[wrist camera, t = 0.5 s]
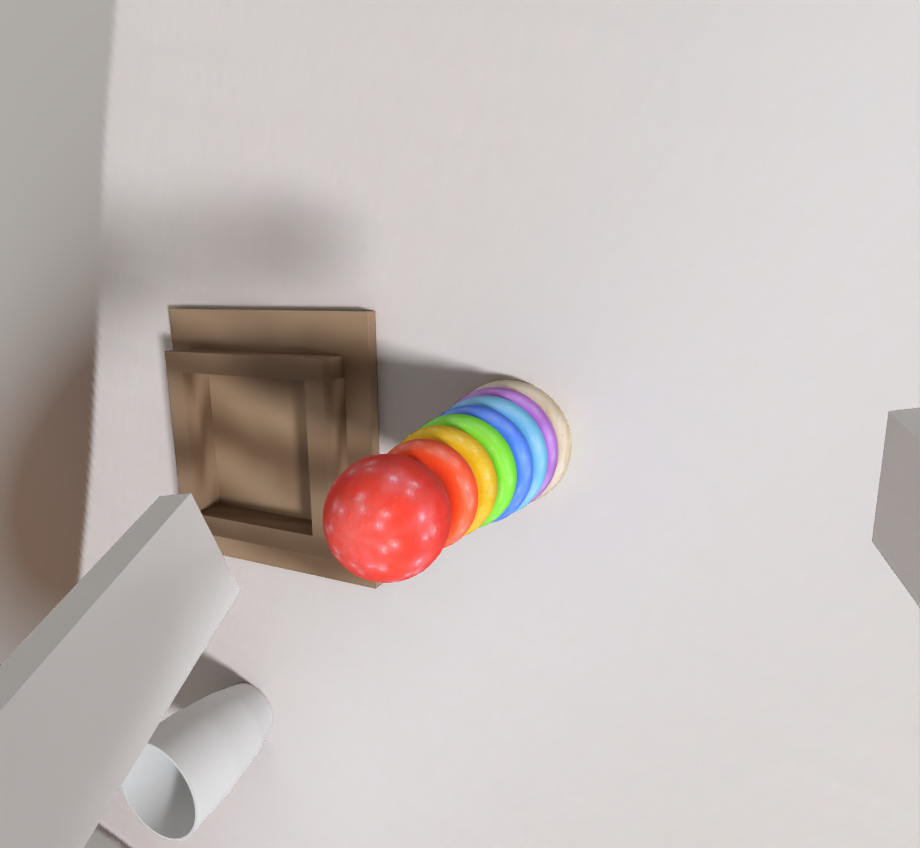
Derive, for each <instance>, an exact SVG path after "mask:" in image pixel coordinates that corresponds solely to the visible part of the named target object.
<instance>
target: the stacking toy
mask: <svg viewBox="0 0 920 848" xmlns="http://www.w3.org/2000/svg"><path fill="white" fill-rule="evenodd" d="M571 449H572V444H571V433H570V429H569V426H568V423H567V420H566V418H565V416H564V414H563V412H562V411H561V409H560V408H559V406H558V405H557V404H556V403H555V402H554V400H553V399H552V398H551V397H550V396H548V395H547V394H546V393H545V392H543V391H542V390H540V389H538V388H537V387H535V386H532V385H530V384H527V383H524V382H520V381H515V380H499V381H494V382H490V383H487V384H484V385H482V386H480V387H478V388H476V389H475V390H473V391H472V392H471V393H469V394H467V395H465V396H464V397H462V398H461V399H460V400H458V401H457V402H456V403H455V404H454V405H453V406H452V407H451V408H450V409H448V410H447V411H446V412H444V413H442V414H441V415H439V416H438V417H437V418H435V419H433V420H431V421H429V422H428V423H426V424H425V425H424V426H422V427H421V428H420V429H419V430H417V431H415V432H413V433H412V434H410V435H409V436H408V437H406V438H405V439H404V440H403V441H402V442H401V444H399V445H398V446H396V447H394V448H393V449H392V450H391V451H389V452H388V453H387V454H379V455H372V456H369V457H366V458H364V459H361V460H359V461H357V462H355V463H354V464H352V465H351V466H349V467H348V468H347V469H346V470H345V471H344V472H343V473H342V474H340V475H339V477H338V478H337V479H336V480H335V481H334V483H333V484H332V486H331V488H330V490H329V492H328V494H327V497H326V500H325V503H324V508H323V531H324V535H325V538H326V542H327V544H328V546H329V548H330V550H331V552H332V554H333V555H334V557H335V558H336V559H337V560H338V561H339V562H340V564H341V565H342V566H343V567H344V568H346V569H347V570H348V571H350V572H351V573H353V574H354V575H356V576H358V577H360V578H363V579H365V580H369V581H373V582H381V583H391V582H398V581H402V580H406V579H409V578H411V577H413V576H415V575H417V574H419V573H420V572H422V571H424V570H425V569H426V568H427V567H428V566H430V565H431V563H432V562H433V561H434V560H435V559H436V558H437V557H438V555H439V554H440V553H441V551H442V549H443V548H445V547H447V546H449V545H451V544H453V543H455V542H456V541H458V540H459V539H461V538H462V536H464V535H467V534H469V533H471V532H472V531H474V530H476V529H477V528H479V527H482V526H485V525H487V524H489V523H492V522H496V521H499V520H501V519H504V518H506V517H507V516H509V515H510V514H512V513H514V512H516V511H518V510H520V509H522V508H523V507H525V506H526V505H527V504H529V503H530V502H532V501H535V500H537V499H539V498H541V497H543V496H544V495H546V494H547V493H549V492H550V491H551V490H552V489H553V488H554V487H555V486H556V485H557V484H558V483H559V482H560V480H561V479H562V477H563V475H564V474H565V472H566V470H567V467H568V464H569V461H570V456H571Z"/></svg>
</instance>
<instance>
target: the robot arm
mask: <svg viewBox="0 0 920 848" xmlns="http://www.w3.org/2000/svg"><path fill="white" fill-rule="evenodd" d="M872 542H873V544H874V545H875V546H876V548H877V549H878V550H879V552H880V553H881V555H882V556H883V557H884V559H885V560H886V562H887V563H888V564H889V566H890V567H891V569H892V570H893V571H894V573H895V574H896V575H897V577H898V578H899V580H900V581H901V582H902V584H903V585H904V587H905V588H906V589H907V591H908V592H909V594H910V595H911V596H912V598H913V599H914V600H915V602H916V603H917V605H918V606H919V607H920V408H912V409H904V410H895V411H889V412H888V420H887V428H886V435H885V443H884V451H883V459H882V466H881V474H880V482H879V489H878V497H877V505H876V513H875V520H874V528H873V536H872ZM239 591H240V588H239V586H238V584H237V582H236V580H235V578H234V576H233V575H232V573H231V571H230V569H229V567H228V565H227V563H226V561H225V559H224V557H223V555H222V553H221V551H220V549H219V547H218V545H217V543H216V541H215V539H214V537H213V535H212V533H211V531H210V529H209V527H208V525H207V523H206V521H205V519H204V517H203V515H202V514H201V512H200V510H199V508H198V506H197V504H196V502H195V500H194V498H193V496H192V494H191V493H186V494H177V495H169V496H160V497H159V498H158V499H157V500H156V501H155V502H154V503H153V504H152V505H151V506H150V507H149V508H148V509H147V510H146V511H145V512H144V514H143V515H142V516H141V517H140V518H139V519H138V520H137V521H136V522H135V523H134V524H133V525H132V526H131V527H130V528H129V529H128V530H127V532H126V533H125V534H124V535H123V536H122V537H121V538H120V539H119V540H118V541H117V542H116V543H115V544H114V545H113V546H112V547H111V548H110V550H109V551H108V552H107V553H106V554H105V555H104V556H103V557H102V558H101V559H100V560H99V561H98V562H97V563H96V564H95V565H94V566H93V568H92V569H91V570H90V571H89V572H88V573H87V574H86V575H85V576H84V577H83V578H82V579H81V580H80V581H79V582H78V583H77V585H76V586H75V587H74V588H73V589H72V590H71V591H70V592H69V593H68V594H67V595H66V596H65V597H64V598H63V599H62V601H61V602H60V603H59V604H58V605H57V606H56V607H55V608H54V609H53V610H52V611H51V612H50V613H49V614H48V615H47V616H46V617H45V618H44V619H43V621H42V622H41V623H40V624H39V625H38V626H37V627H36V628H35V629H34V630H33V631H32V632H31V633H30V635H28V637H26V639H25V640H24V641H23V642H22V643H21V644H20V645H19V646H18V647H17V648H16V649H15V650H14V651H13V652H12V653H11V654H10V656H9V657H8V658H7V659H6V660H5V661H4V662H3V663H2V664H1V665H0V848H84V846H85V845H86V843H87V841H88V840H89V838H90V837H91V835H92V833H93V832H94V830H95V828H96V827H97V825H98V823H99V822H100V820H101V818H102V817H103V815H104V813H105V812H106V810H107V809H108V807H109V805H110V804H111V802H112V800H113V799H114V797H115V795H116V794H117V792H118V790H119V789H120V787H121V785H122V784H123V782H124V781H125V779H126V777H127V776H128V774H129V772H130V771H131V769H132V767H133V766H134V764H135V762H136V761H137V759H138V758H139V756H140V754H141V753H142V751H143V749H144V748H145V746H146V744H147V743H148V741H149V739H150V738H151V736H152V734H153V733H154V731H155V730H156V728H157V726H158V725H159V723H160V721H161V720H162V718H163V716H164V715H165V713H166V711H167V710H168V708H169V706H170V705H171V703H172V702H173V700H174V698H175V697H176V695H177V693H178V692H179V690H180V688H181V687H182V685H183V683H184V682H185V680H186V679H187V677H188V675H189V674H190V672H191V670H192V669H193V667H194V665H195V664H196V662H197V660H198V659H199V657H200V655H201V654H202V652H203V651H204V649H205V647H206V646H207V644H208V642H209V641H210V639H211V637H212V636H213V634H214V632H215V631H216V629H217V627H218V626H219V624H220V623H221V621H222V619H223V618H224V616H225V614H226V613H227V611H228V609H229V608H230V606H231V604H232V603H233V601H234V599H235V598H236V596H237V595H238V593H239Z"/></svg>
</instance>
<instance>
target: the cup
mask: <svg viewBox="0 0 920 848" xmlns="http://www.w3.org/2000/svg"><path fill="white" fill-rule="evenodd" d="M272 725H273V711H272V708H271V705H270V703H269V701H268V700H267V698H266V697H265V695H264V694H263V693H262V692H261V691H260V690H259V689H257V688H256V687H254V686H253V685H250V684H247V683H239V684H236V685H233V686H231V687H228V688H225V689H222V690H219V691H217V692H214V693H211V694H209V695H208V696H206V697H204V698H202V699H200V700H198V701H196V702H194V703H192V704H191V705H189V706H187V707H185V708H183V709H181V710H179V711H177V712H176V713H174V714H172V715H171V716H169V717H168V718H166V719H165V720H163V721H162V722H160V723H159V725H158V726H157V728H156V730H155V731H154V733H153V734H152V736H151V738H150V739H149V741H148V743H147V744H146V746H145V748H144V749H143V751H142V753H141V754H140V756H139V758H138V759H137V761H136V762H135V764H134V766H133V767H132V769H131V771H130V772H129V774H128V776H127V777H126V779H125V781H124V782H123V784H122V785H121V789H122V792H123V794H124V797H125V799H126V801H127V803H128V804H129V806H130V808H131V809H132V811H133V812H134V813H135V815H136V816H137V817H138V819H139V820H140V821H141V822H142V823H143V824H144V825H145V826H146V827H147V828H148V829H150V830H151V831H152V832H154V833H155V834H157V835H158V836H160V837H162V838H165V839H167V840H172V841H181V840H184V839H187V838H188V837H189V836H190V835H191V834H192V833H193V832H194V831H195V830H196V829H197V828H198V827H199V825H200V824H201V823H202V822H203V821H204V820H205V819H206V818H207V816H208V815H209V814H210V813H211V812H212V811H213V810H214V809H215V807H216V806H217V805H218V804H219V803H220V802H221V801H222V800H223V799H224V797H225V796H226V795H227V794H228V793H229V792H230V791H231V789H232V788H233V787H234V785H235V784H236V783H237V781H238V780H239V778H240V777H241V776H242V774H243V773H244V772H245V770H246V769H247V768H248V766H249V765H250V763H251V762H252V761H253V759H254V758H255V757H256V755H257V754H258V752H259V750H260V748H261V746H262V744H263V743H264V741H265V739H266V737H267V735H268V733H269V731H270V730H271V728H272Z"/></svg>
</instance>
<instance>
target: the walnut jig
mask: <svg viewBox="0 0 920 848" xmlns="http://www.w3.org/2000/svg"><path fill="white" fill-rule="evenodd" d="M169 313H170V323H171V333H172V343H173V350H172V351H165V356H166V366H167V376H168V386H169V396H170V405H171V415H172V425H173V435H174V444H175V454H176V464H177V474H178V484H179V493H180V494H186V493H191V494H192V496H193V498H194V500H195V502H196V504H197V506H198V508H199V510H200V512H201V514H202V515H203V517H204V519H205V521H206V523H207V525H208V527H209V529H210V531H211V533H212V535H213V537H214V539H215V541H216V543H217V545H218V547H219V549H220V551H221V553H222V555H225V556H229V557H234V558H239V559H243V560H248V561H252V562H257V563H261V564H266V565H270V566H275V567H280V568H284V569H289V570H293V571H298V572H302V573H307V574H312V575H316V576H321V577H325V578H330V579H334V580H339V581H343V582H348V583H353V584H357V585H362V586H366V587H371V588H375V589H376V588H377V587H379V586H380V585H381V584H382V583H381V582H373V581H369V580H365V579H363V578H360V577H358V576H356V575H354V574H353V573H351V572H350V571H348V570H347V569H346V568H344V567H343V566H342V565H341V564H340V562H339V561H338V560H337V559H336V558H335V557H334V555H333V554H332V552H331V550H330V548H329V546H328V544H327V542H326V538H325V535H324V531H323V508H324V503H325V500H326V497H327V494H328V492H329V490H330V488H331V486H332V484H333V483H334V481H335V480H336V479H337V478H338V477H339V475H340V474H342V473H343V472H344V471H345V470H346V469H347V468H348V467H349V466H351V465H352V464H354V463H355V462H357V461H359V460H361V459H364V458H366V457H369V456H372V455H379V426H378V391H377V356H376V321H375V311H321V310H243V309H169Z"/></svg>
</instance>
